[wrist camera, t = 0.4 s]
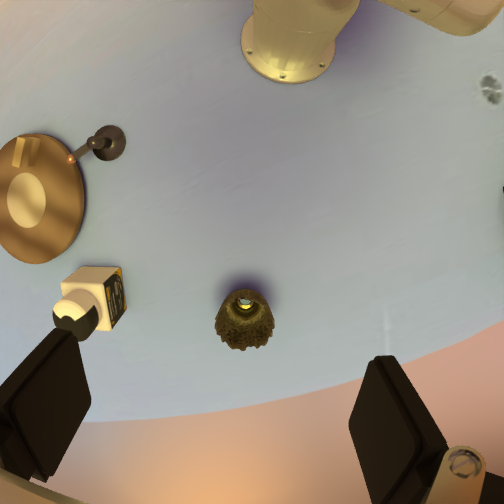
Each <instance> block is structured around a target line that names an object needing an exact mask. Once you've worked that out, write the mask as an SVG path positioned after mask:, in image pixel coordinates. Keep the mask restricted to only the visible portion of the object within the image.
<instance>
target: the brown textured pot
mask: <svg viewBox="0 0 504 504" xmlns="http://www.w3.org/2000/svg"><path fill="white" fill-rule="evenodd" d="M240 299H245V300H249V301H251V303H250V304H248V305H243V304H241V302H240ZM215 320H216V322H215V330H216V331H217V335H219V336H220V335H221V340H222V342H225V341H226V343H227V344H228V346H229V347H230V348H231V349H240V350H241V351H245V350H246V347H252V346H255V347H256V348H259V347H260V345H263V346H265V345H266V344H267V342H268V338H269V337H272V334H273V332H272V329H274V327H275V326H274V318H273V315H272V313H271V310H270V308H269V305H268V303H267V302H266V300H265V299H264V297H263V296H262V295H261V294H259V293H258V292H256V291H254V290H250V289H240V290H236V291H234V292H232V293H231V294H230V295H228V296H227V298H226V299H225V300H224V302H223V303H222V305H221V307H220V310H219V312H218V314H217V316H216V318H215Z"/></svg>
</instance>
